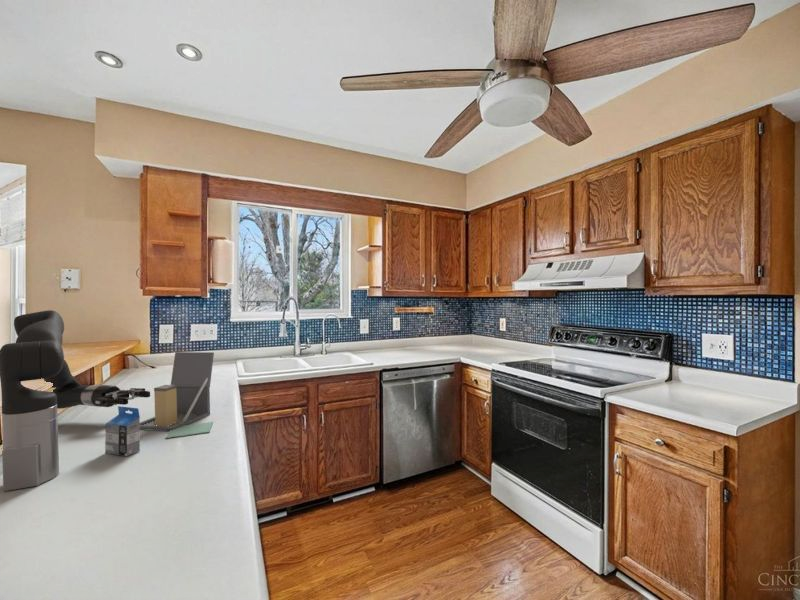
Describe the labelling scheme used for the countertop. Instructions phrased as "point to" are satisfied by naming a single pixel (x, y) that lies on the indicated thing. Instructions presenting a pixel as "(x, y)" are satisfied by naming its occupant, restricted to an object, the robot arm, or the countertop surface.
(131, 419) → the label tape box
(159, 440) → the countertop surface
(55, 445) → the robot arm
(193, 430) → the mat
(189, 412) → the case
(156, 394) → the block
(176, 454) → the countertop surface
